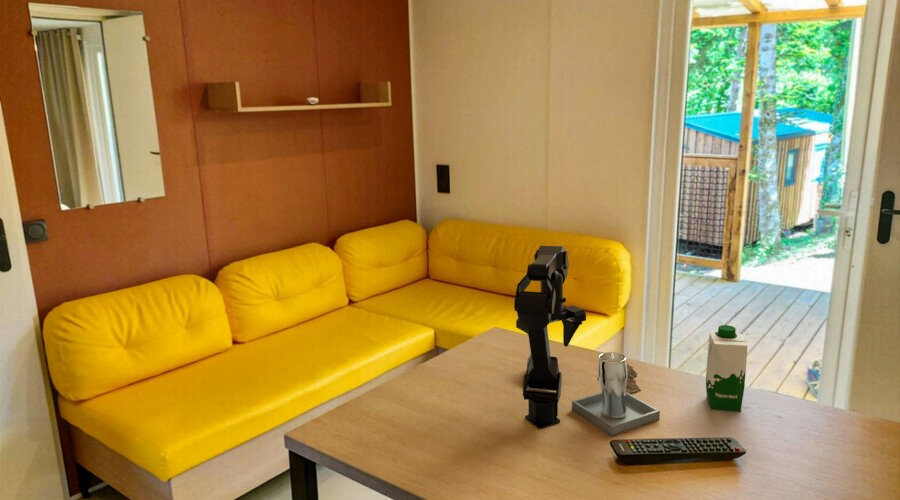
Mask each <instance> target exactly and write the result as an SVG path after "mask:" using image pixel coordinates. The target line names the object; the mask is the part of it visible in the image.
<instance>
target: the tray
mask: <svg viewBox="0 0 900 500" xmlns="http://www.w3.org/2000/svg"><path fill="white" fill-rule="evenodd" d="M625 405H626V410H627V414H626V416H624V417H622V418H618V419H612V418H608V417H605V416H604V415H603V414H602V406H603V396H602V391H600V392H597V393H594V394H591V395H587V396H585V397H584V396H583V397H581V398H578V399H574V400H572V401H571V410H572V411H573V412H574V413H575V414H577V415H579V416H580V417H582V418H583V419H584V420H587V421H588V422H590V423H591V424H592V425H593V426H595V427H597V428H598V429H600V430H602V431H603V432H604V433H606V434H608V435H609V436H611V437H614V436H617V435H620V434H622V433H625V432H629V431H631V430H634V429H637V428H640V427H643V426H646V425H650V424H652V423H655V422H658V421H660V414H661V413H660V412H661V411H660V410H659V409H658V408H656V407H654V406H652V405H650V404H648V403H647V402H645V401H643V400H641V399H639V398H637V397H635V396H634V395H633V394H631V395H630V394H629V393H627V392H625Z"/></svg>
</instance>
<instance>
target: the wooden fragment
mask: <svg viewBox="0 0 900 500" xmlns="http://www.w3.org/2000/svg"><path fill="white" fill-rule="evenodd" d="M633 368H634V367H633V366H632V365H629V364H628V363H627V386H626V392H627V393H629V394H630V395H633V394H636V393H638V392H641V391H642V389H640V387H639V386H638V384H637V383H636V379H635V380H634V378H637V376H638V372H637V371H635V370H634V369H633ZM597 379H599V376H598V377H597Z"/></svg>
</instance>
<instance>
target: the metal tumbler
mask: <svg viewBox="0 0 900 500" xmlns="http://www.w3.org/2000/svg"><path fill="white" fill-rule="evenodd" d="M597 361H598V363H597V364H598V366H597V368H598V369H597V376H598V377H599V378H598V382H599V387H600V390H601V391H600V392H602V396H603V406H602V414H603V415H604V416H605V417H608V418H612V419H618V418H622V417H624V416H626V414H627V410H626V405H625V392H626V386H627V364H628V363H627V357H626V355H625V354H624V353H622V352H618V351H607V352H603V353H601V354H600V355H598V360H597Z"/></svg>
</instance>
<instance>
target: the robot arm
mask: <svg viewBox="0 0 900 500" xmlns="http://www.w3.org/2000/svg"><path fill="white" fill-rule="evenodd" d="M565 249H566V247H565V246H564V245H562V246H561V245H560V246H559V245H539V246H538V249H536V250H535V253H534V255H533V256H534V257H533V258H534V261H533V262H531V263H528V266H527V270H526V274H525V275H524V276H523V278H522V279H521V280H520V281H519V282H518V283H517V285H516V291H515V296H514V303H513V305H514V307H513V308H514V312H516V314H517V319H516V321H515V329H516V328H517V329H518V330H520V331H522V332H524V333H525V334H527V336H528V342H529V351H530V354H531V357H532V360H531V361H530V365H529V369H527V368H526V372H525V374H524V376H523V384H522V385H523V386H522V397H523V400H528V402H527V403H528V414H527V415H525V416H524V419H526V421H528V422H529V423H531V424H532V425H533V426H535V427H536V428H537V429H543V428H546V427H550V426H553V425H556V424H560V423H561V419H560V418H559V417H558V415H559V413H558V411H559V410H558V409H559V405H558V404H559V402H560V398H561V396H562V394H561V393H562V379H563V378H562V371H560V367H559V360H558V357H556V356H552V355H551V347H550V339H549V332H548V330H549V329H548V325H550V324H551V323H555V322H560V321H561V323H562V327H563V328H562V329H563V331H562V335H563V336H562V338H563V341H562V342H563V346H564V347H566V348H567V347H568V346H569V344H570V342H571V341H572V339H573V337H574V335H575V333H576V332H577V330H578V329H579V327H580V326H581V325H583V322H586V321H587V313H586V312H587V311H586V310H584V309H582V308H580V307H579V306H577V305H569V306H564V303H566V302H567V298H566V297H564V294H563V293H564V284H565V282H566V280H567V277H568V274H569V271H568V270H569V269H570V264H569V256H568V255H569V254H568V250H565ZM531 282H540V284H539V285H540V291H526V289H527V288H528V287H529V286H530V285H531Z"/></svg>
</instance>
